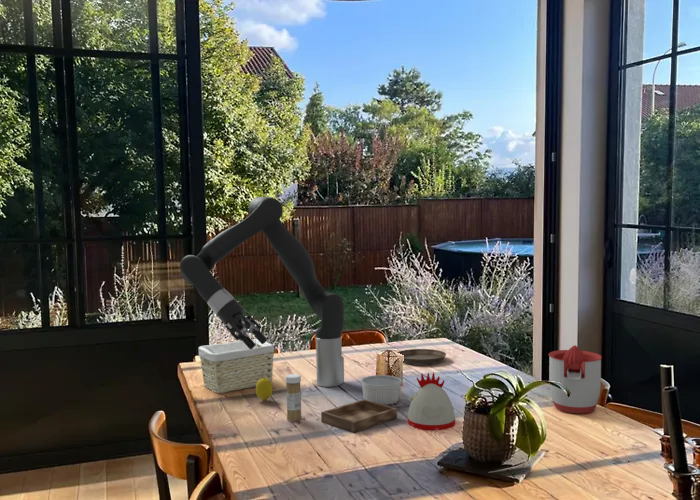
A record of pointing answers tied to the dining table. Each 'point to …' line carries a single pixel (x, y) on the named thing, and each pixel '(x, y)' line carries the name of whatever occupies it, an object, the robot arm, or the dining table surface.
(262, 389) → the lemon
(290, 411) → the sprinkles bottle
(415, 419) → the kitchen timer
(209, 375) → the storage basket
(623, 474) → the dining table surface
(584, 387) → the citrus juicer
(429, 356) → the plant saucer
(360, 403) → the serving box
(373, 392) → the ramekin
